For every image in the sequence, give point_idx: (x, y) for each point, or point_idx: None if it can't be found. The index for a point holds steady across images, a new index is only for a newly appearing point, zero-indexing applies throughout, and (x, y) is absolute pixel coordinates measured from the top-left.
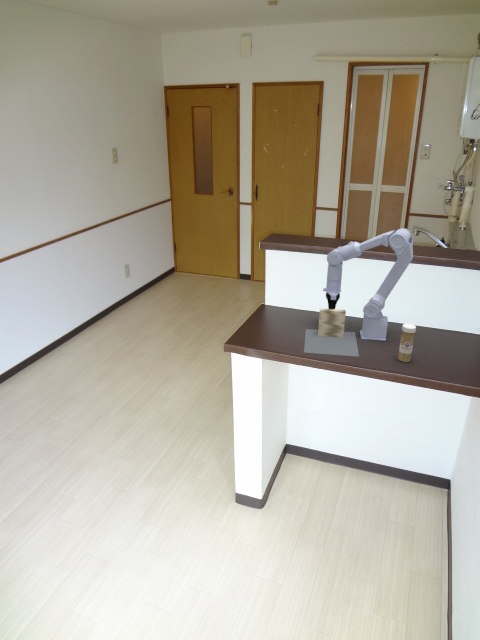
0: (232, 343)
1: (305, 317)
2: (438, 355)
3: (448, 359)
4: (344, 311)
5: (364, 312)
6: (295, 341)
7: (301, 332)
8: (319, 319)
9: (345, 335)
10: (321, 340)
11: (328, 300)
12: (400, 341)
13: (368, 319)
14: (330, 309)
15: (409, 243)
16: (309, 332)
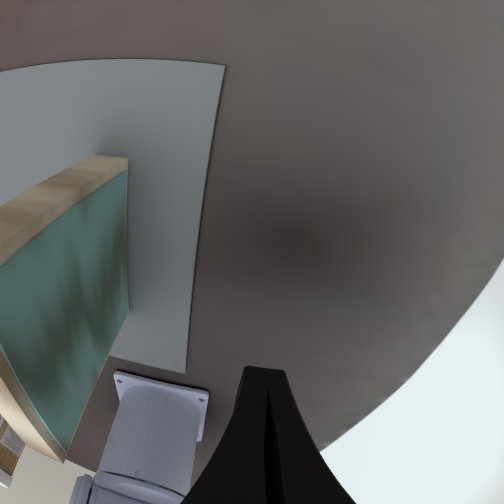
0: None
1: (476, 137)
2: (87, 452)
3: (76, 453)
4: (29, 445)
5: (73, 490)
6: (36, 11)
7: (172, 29)
8: (2, 209)
9: (132, 324)
10: (35, 174)
11: (184, 499)
12: (2, 432)
13: (100, 466)
14: (3, 390)
15: None
16: (148, 91)
